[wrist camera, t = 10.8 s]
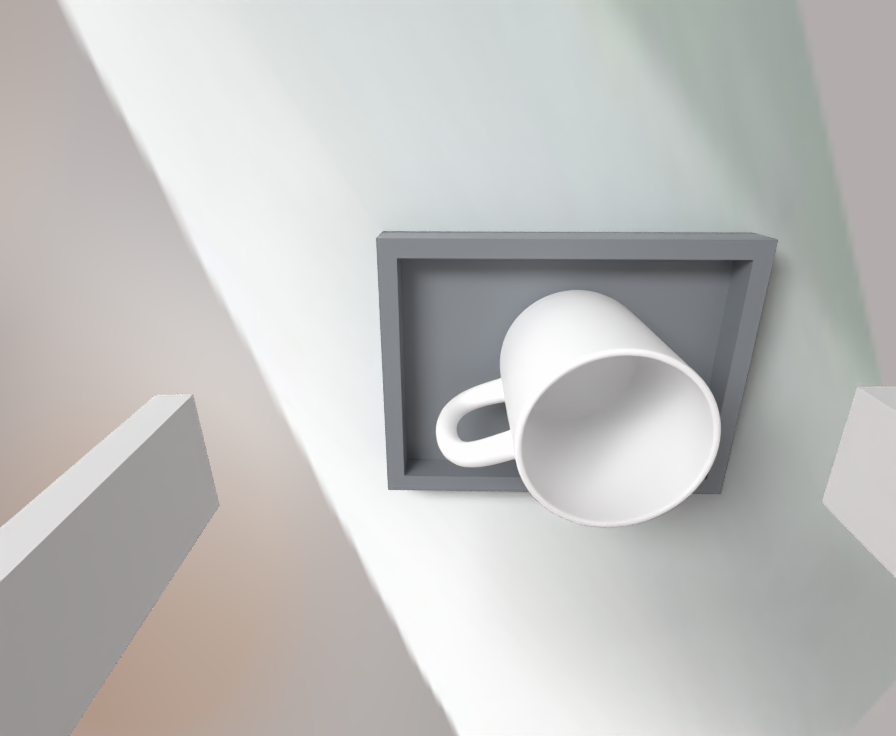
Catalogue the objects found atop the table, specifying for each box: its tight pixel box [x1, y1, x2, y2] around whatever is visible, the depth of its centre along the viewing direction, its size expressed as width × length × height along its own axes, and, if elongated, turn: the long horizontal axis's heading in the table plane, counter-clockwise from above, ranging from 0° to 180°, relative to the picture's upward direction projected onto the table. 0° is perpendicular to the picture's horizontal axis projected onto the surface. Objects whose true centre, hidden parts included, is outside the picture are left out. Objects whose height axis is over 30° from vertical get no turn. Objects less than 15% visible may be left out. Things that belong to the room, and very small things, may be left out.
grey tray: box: [376, 231, 778, 494], centre depth 31 cm, size 15×20×2 cm
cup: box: [436, 290, 721, 527], centre depth 27 cm, size 8×12×10 cm
